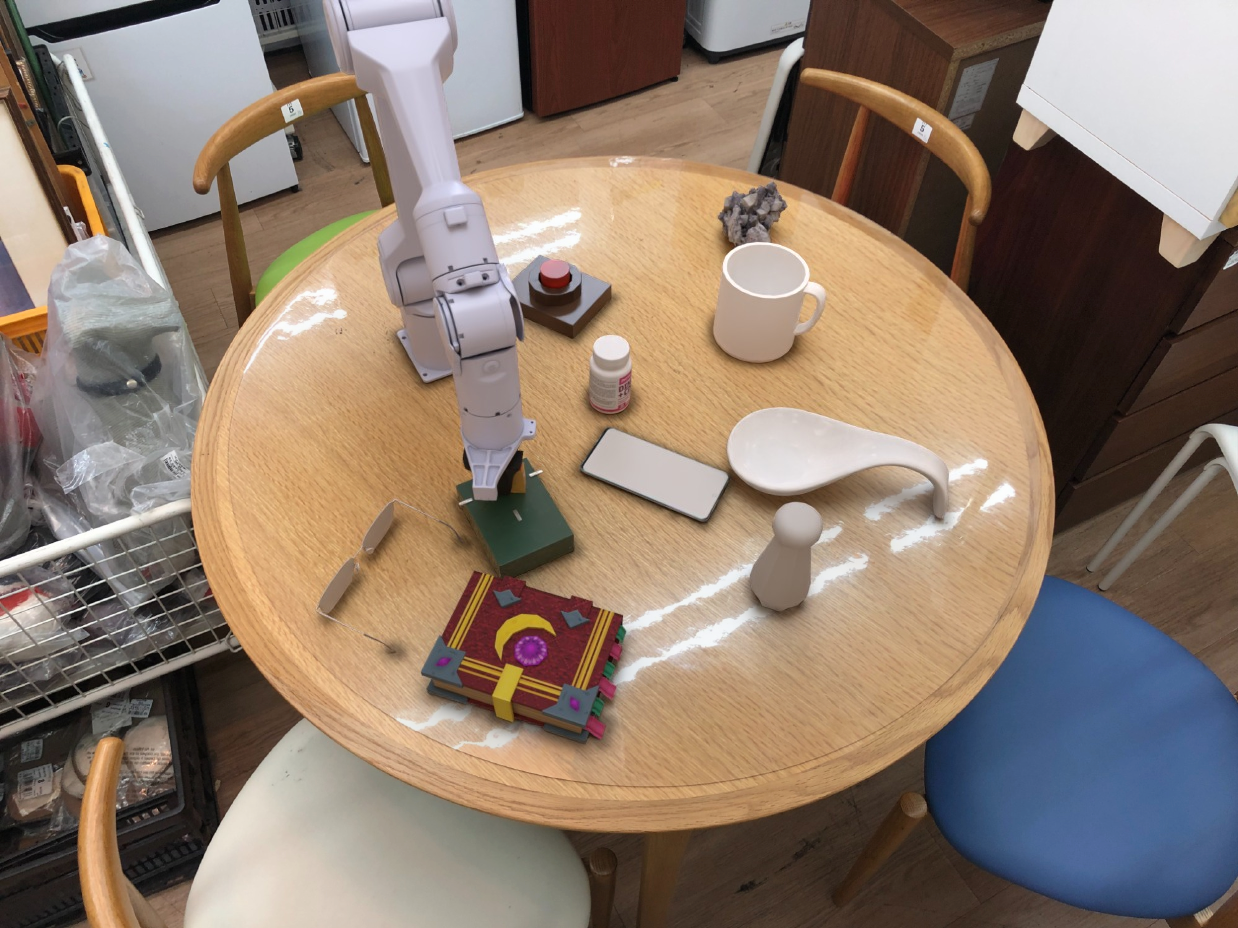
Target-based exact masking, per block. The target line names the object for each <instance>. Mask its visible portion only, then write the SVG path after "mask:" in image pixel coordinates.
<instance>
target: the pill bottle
mask: <svg viewBox="0 0 1238 928" xmlns="http://www.w3.org/2000/svg"><path fill="white" fill-rule="evenodd" d="M630 349H631V348H630V344H629V342H628V340H627V339H625V338H624V337H622V336H620V335H617V334H607V335H603V336H600V337H598V338H597V339H596V340H595V341H594V342H593V345H592V355H591V356H590V357H589V365H588V366H589V369H588V370H589V376H588V377H589V385H588V387H589V391H588V400H589V403H590V405H591V407H593V409H594V410H595V411H598V412H600V413H602V414H607V415H612V414H619V413H620V412H623V411H624V410H625V409H626V408H627V407H628V406H629V404H630V402H631V390H632V375H633V374H632V373H633V361H632V357H631V355H630V352H631V351H630Z"/></svg>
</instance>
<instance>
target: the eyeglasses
mask: <svg viewBox="0 0 1238 928" xmlns="http://www.w3.org/2000/svg"><path fill="white" fill-rule="evenodd" d="M395 502H397V503H398V504H401V505H403V506H405V507H407V508H409V509H412V510H414V511H415V512H418V513H420V514H422V515H424V516H427V517H429V518H431V519H433V520H435V521H437V522H438V523H440V524H442V525H444V526H446V527H448V528H449V529H451V530H452V531H453V533H454V534H455V535H456V537H457V539H458V540H459V542H460V543H462V544H465V542H464V541H463V540H462V538H461V536H460V535H459V534H458V532H457V531H456V530H455V529H454V528H453V527H452V526H451V525H449V524H448V523H446V522H444V521H442V520H441V519H438V518H435V517H433V516H431V515H430V514H428V513H426V512H423V511H422V510H420V509H417V508H415V507H413V506H412V505H409V504H407V503H405V502H404V501H402V500H400V499H397V498H394V499H392V501H389V502H387V504H386V505H385V506H384V507H383V509H381V511H380V512H379V514H378V515H377V517H375V518H374V520H373V522H372V523H371V525H370V526H369V527H368V529H367V530H366V532H365V534H364V536H363V539H362V542H361V545H360V548H359V549H358V551H357V552H356V553H355V555H354V556H351V557H349V558H348V559H347V560H345V562H344V563H343V564H342V565H341V566H340V568H339V569H338V570H337V571H336V573H335V574H334V575H333V577H332V578H331V580H330V581H329V583H328V585H327V586H326V587H325V589H324V591H323V592H322V594H321V596H320V598H319V600H318V604H316V607H315V609H314V610H315V612H316V613H318V614H319V615H321V616H322V617H325V618H327V619H329V620H331V621H333V622H335V623H338V624H340V625H341V626H344V627H346V628H349V629H350V630H352V631H354V632H357V633H359V634H361V635H363V636H364V637H367V638H369V639H371V640H373V641H376V642H378V643H380V644H382V645H384V646H385V647H387V648H388V649H389V650H391V651H393V652H395V653H396V650H394V649H392V648H391V647H390V646H389V645H387V644H386V643H384V642H383V641H381V640H379V639H377V638H375V637H373V636H371V635H369V634H367V633H363V632H361V631H359V630H357V629H356V628H354V627H351V626H349V625H348V624H345V623H344V622H342V621H340V620H337V619H336V618H334V617H332V616H330V615H329V613H331V611H332V610H333V609H334V608H335V606H336V605H337V604H338V602H339V601H340V600H341V598H342V597H343V596H344V594H345V592H346V590H347V589H348V587H349V586H350V584H351V582H352V581H353V579H354V578H353V577H354V574H355V570H356V574H357V575H358V574H359V573H360V562H358V561H357V562H356V563H355V559H356V557H357V556H358V555H359V553H360V552H361V551H362V550H363V551H364V552H365V553H366V554H367V555H371V554H373V553H374V552H375V549H376V548H377V547H378V545H379V544H380V542H381V541H382V540H383V539H384V537H385V535H386V534H387V532H388V531H389V529H390V528H391V526H392V524H393V521H394V515H395V505H394V503H395ZM319 609H320V610H321V611H319Z"/></svg>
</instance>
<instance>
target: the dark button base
mask: <svg viewBox="0 0 1238 928" xmlns="http://www.w3.org/2000/svg"><path fill="white" fill-rule="evenodd" d="M548 260H552V259H551V258H549V257H548V256H547V257H546V256H545V255H542V254H538V255H537V256H536V257H535V258H534V259H533V260H532V261H531V262H530V263H529V264H528V265H527V266H525V268H524V269H523V270H521V272H519V273H518V274H517V275H516V276H515V277H514V278H513V279H512V280H511V282H512V284H513V286H514V289H515V291H516V294H517V296H518V299H519V302H520V306H521V310H522V314H523V318H526V319H528V320H531V321H533V322H535V323H537V324H538V325H539V324H540V325H542V326H544V327H546V328H549V329H550V330H553V331H555V332H558V333H560V334H561V335H564V336H566V337H569V338H571V339H574V338H575V337H576V336H577V335H578V334H579V333H580V332H581V331H582V330H583V329H584V328H585V326H586V325H588V324H589V322H590V321H591V320H592V319H593V318H594V317H595V316H596V315H597V314H598V313H599V311H601V310H602V308H603V307H604V306H605V305H606V304H607V303H608V302H609V301H610V300H611V299H612V284H611V283H609V282H606V281H604V280H602V279H600V278H597V277H595V276H592V275H589V274H588V273H585V272H583V271H580V269H579V268H578V267H577V266H576V265H575V264H573V263H570V262H567V261H564V260H563V261H564V262H566V263H567V264H568V265H569V268H570V281H569V283H568V285H567V286H565V287H562V288H559V289H556V288H548V287H545V286H544V285H543V284H542V283H541V276H540V267H541V265H542V264H543V263H544V262H546V261H548Z"/></svg>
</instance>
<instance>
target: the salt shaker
mask: <svg viewBox="0 0 1238 928" xmlns="http://www.w3.org/2000/svg"><path fill="white" fill-rule="evenodd" d="M771 525H772V527H771V528H772V531H773V537H772V538H771V539H770V541H769V543H768V544H767V545H766V547H765V548H764V549H763V550H762V552H761V553H760V555H759V556H758V558H757V560H756V561H755V562H754V563H753V565H752V568H751V569H750V572H749V583H750V586H751V591H752V592H753V593H754V595H755V596H756V597H757V598H758V600H759V602H760V604H761V606H762V607H765V608H767V609H771V610H773V611H777V612H780V613H781V612H783V611H784V610H786V609H790V608H793V607H797V606H799V605H800V603H801V602H803V601H804V600H805V599H806V598H807V596H808V595H809V593H810V588H811V584H812V547H814V545H816V544H817V543H818V542H819V541H820V539H821V536H822V532H823V527H824V522H823V519H822V515H821V513H820V512H818V511H817V510H816V508H815V507H813V506H811V505H810V504H808V503H806V502H801V501H792V502H788V503H784V504H783V505H782V506H781V507H779V508H778V509H777V511H776V512H775V515H774V518H773V520H772V524H771Z"/></svg>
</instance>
